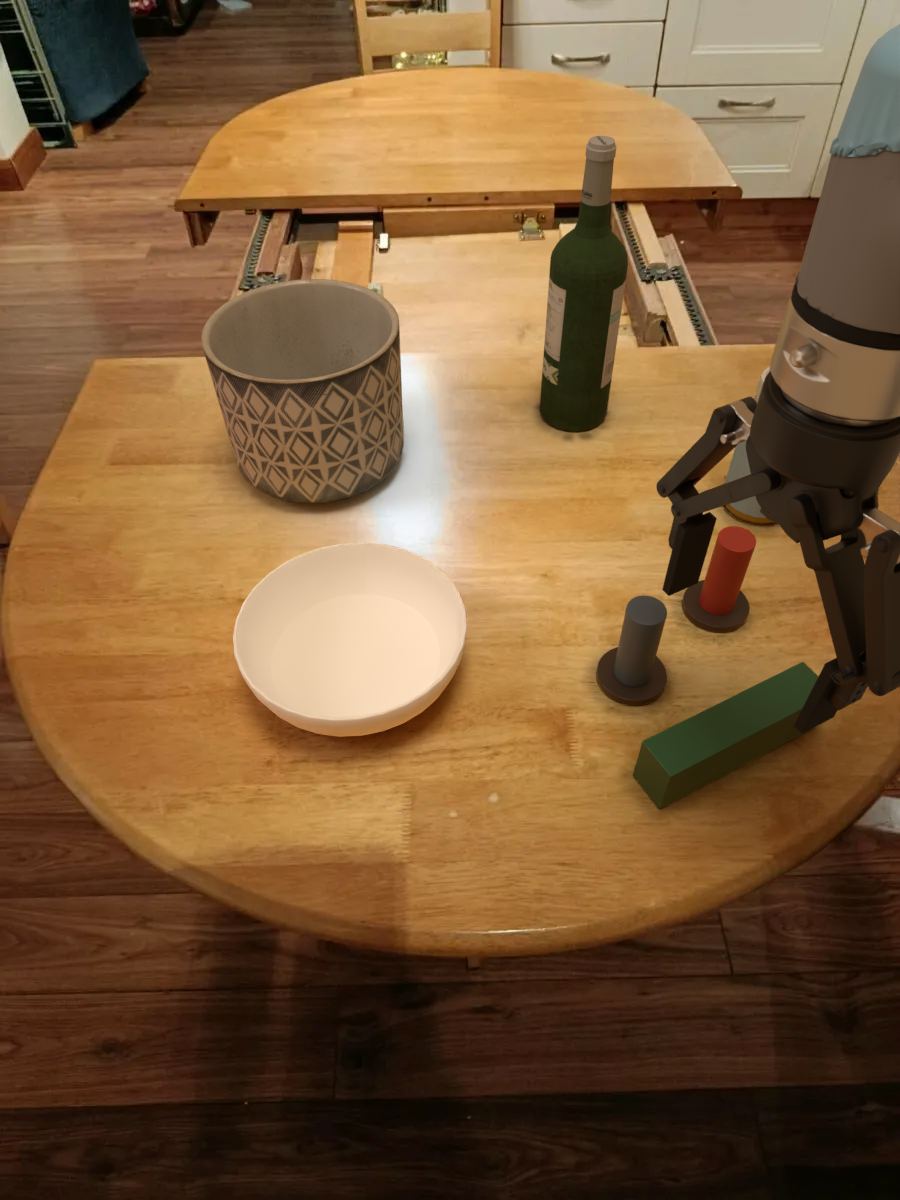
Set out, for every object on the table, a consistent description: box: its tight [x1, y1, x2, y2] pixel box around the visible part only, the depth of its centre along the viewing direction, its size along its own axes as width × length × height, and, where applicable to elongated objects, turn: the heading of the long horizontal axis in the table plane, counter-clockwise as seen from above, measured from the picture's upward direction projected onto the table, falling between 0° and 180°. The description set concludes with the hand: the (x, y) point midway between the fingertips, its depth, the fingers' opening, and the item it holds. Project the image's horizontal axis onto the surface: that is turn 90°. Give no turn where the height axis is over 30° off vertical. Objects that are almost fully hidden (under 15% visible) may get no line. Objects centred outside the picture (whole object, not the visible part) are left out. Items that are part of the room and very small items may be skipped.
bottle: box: [724, 366, 774, 525], centre depth 83 cm, size 7×7×15 cm
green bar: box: [632, 661, 819, 811], centre depth 67 cm, size 4×16×5 cm, turn 118°
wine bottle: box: [539, 135, 629, 433], centre depth 89 cm, size 8×8×30 cm
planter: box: [200, 278, 405, 504], centre depth 89 cm, size 19×19×16 cm
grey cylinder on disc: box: [595, 594, 668, 707], centre depth 71 cm, size 6×6×9 cm
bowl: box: [232, 541, 468, 738], centre depth 73 cm, size 20×20×6 cm
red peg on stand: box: [681, 525, 757, 634], centre depth 76 cm, size 6×6×9 cm
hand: (742, 649), depth 59 cm, fingers open, 13 cm apart
